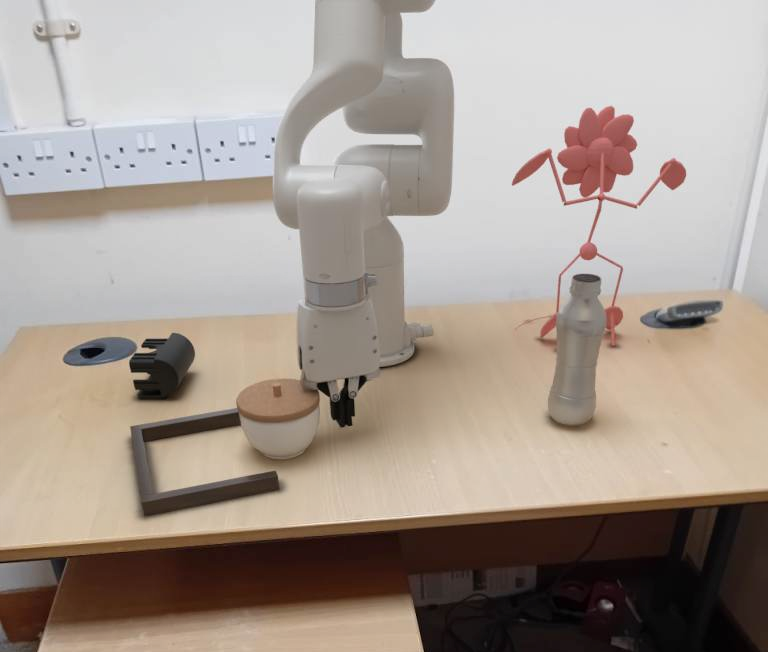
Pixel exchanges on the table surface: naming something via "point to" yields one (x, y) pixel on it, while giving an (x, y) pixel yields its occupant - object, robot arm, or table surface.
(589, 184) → the figurine
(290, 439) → the trinket box
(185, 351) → the end cap
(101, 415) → the table surface
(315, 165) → the robot arm
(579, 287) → the plastic bottle
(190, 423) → the frame
